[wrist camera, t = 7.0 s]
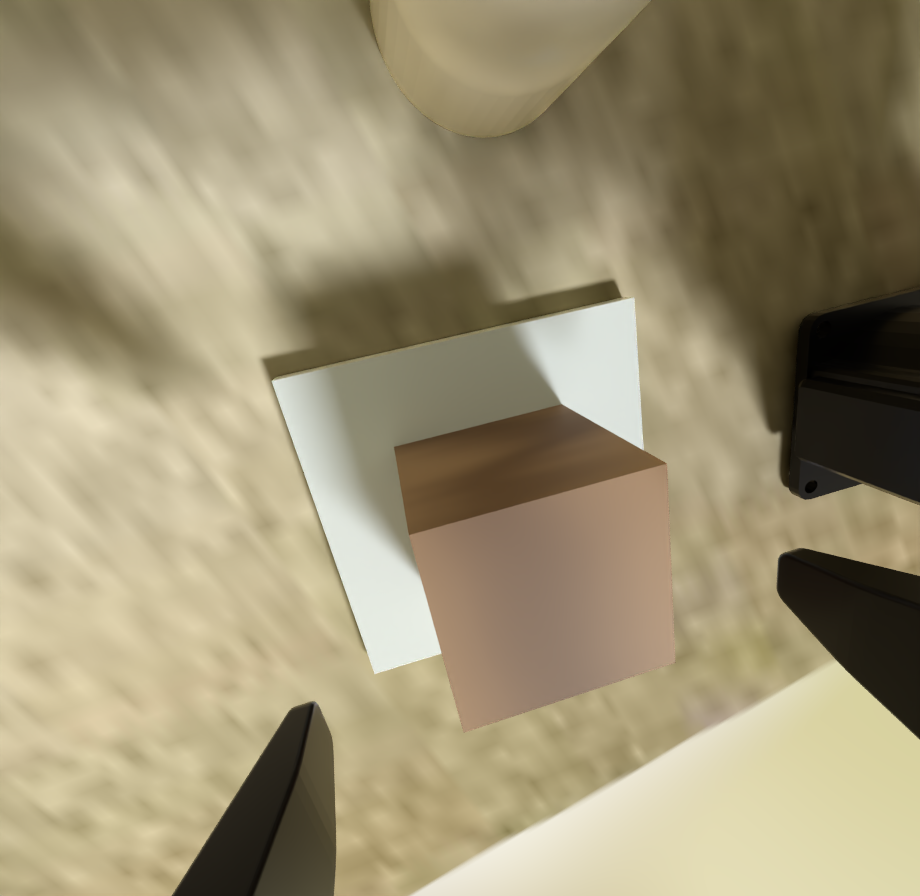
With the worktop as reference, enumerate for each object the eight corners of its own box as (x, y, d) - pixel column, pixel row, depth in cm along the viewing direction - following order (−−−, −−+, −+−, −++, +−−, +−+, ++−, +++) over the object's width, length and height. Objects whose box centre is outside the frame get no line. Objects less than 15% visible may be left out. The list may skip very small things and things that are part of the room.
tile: (623, 297, 13) (634, 297, 13) (642, 578, 17) (651, 588, 16) (275, 377, 12) (271, 380, 12) (374, 660, 16) (374, 674, 15)
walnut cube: (562, 404, 13) (666, 463, 9) (579, 548, 15) (675, 662, 10) (393, 446, 13) (408, 535, 8) (432, 591, 14) (463, 732, 10)
